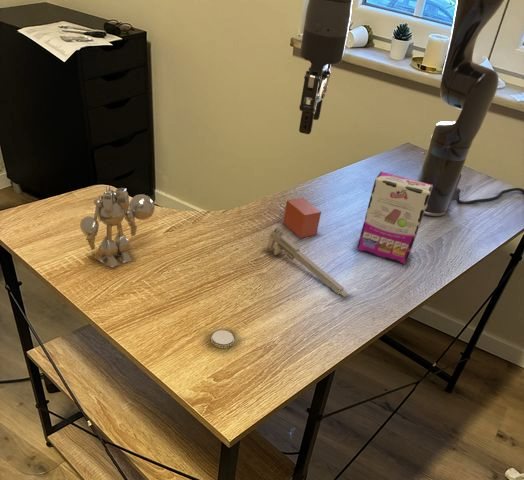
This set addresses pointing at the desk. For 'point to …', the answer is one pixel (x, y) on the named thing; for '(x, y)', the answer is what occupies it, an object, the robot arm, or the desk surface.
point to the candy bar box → (393, 216)
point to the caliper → (301, 259)
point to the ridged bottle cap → (222, 338)
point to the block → (301, 217)
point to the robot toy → (115, 223)
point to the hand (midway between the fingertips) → (309, 125)
